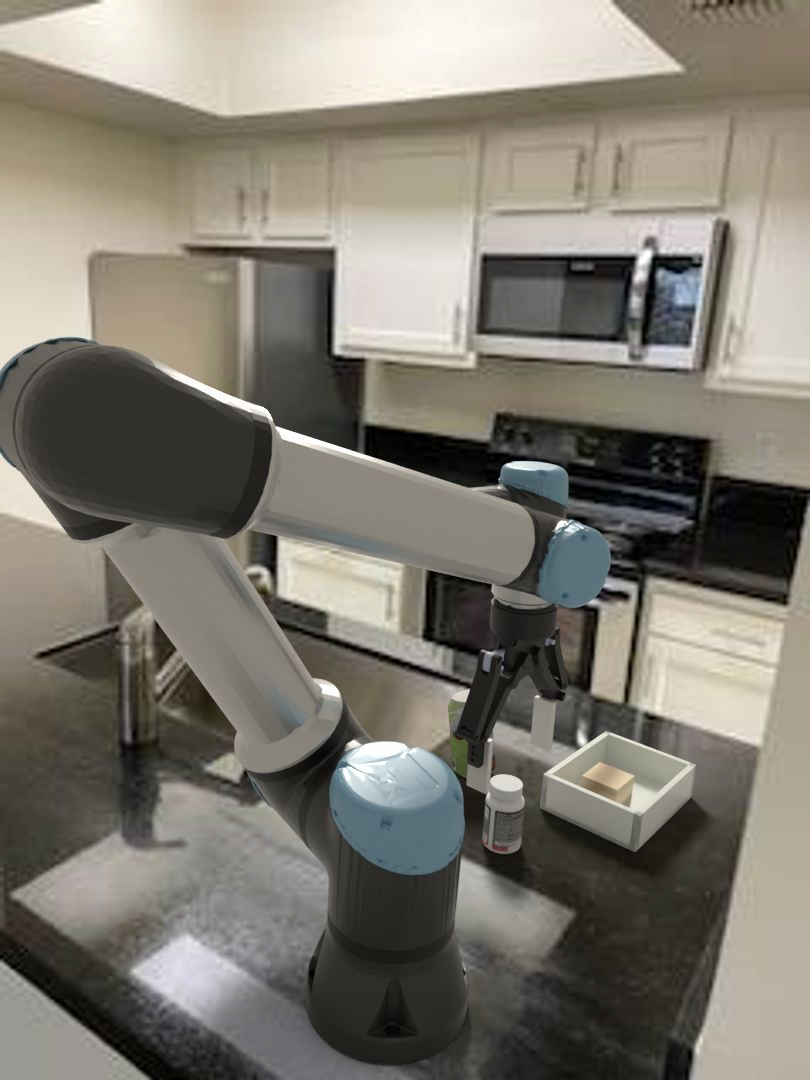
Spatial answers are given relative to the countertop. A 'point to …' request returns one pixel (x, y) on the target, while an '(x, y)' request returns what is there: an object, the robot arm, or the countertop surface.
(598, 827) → the tote
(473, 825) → the countertop surface
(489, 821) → the pill bottle
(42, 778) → the countertop surface
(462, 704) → the beverage can
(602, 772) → the cube
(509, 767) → the countertop surface
